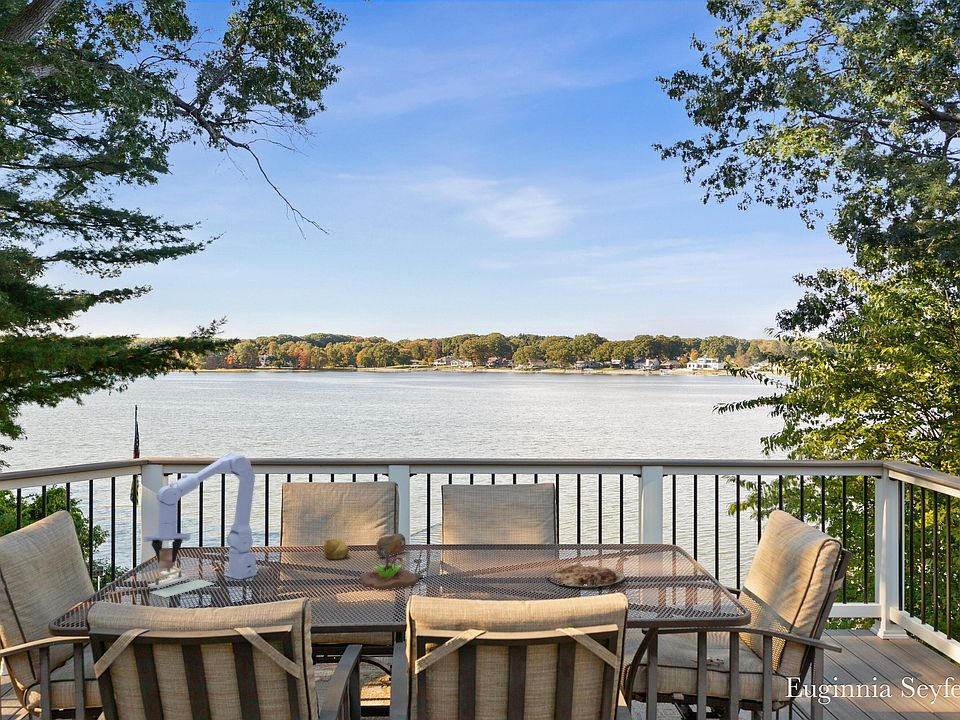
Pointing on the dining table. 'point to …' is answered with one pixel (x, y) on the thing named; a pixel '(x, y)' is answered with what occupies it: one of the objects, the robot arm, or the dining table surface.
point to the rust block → (166, 558)
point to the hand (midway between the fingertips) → (167, 561)
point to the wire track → (169, 578)
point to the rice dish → (587, 576)
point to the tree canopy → (391, 544)
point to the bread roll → (335, 549)
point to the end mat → (181, 588)
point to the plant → (388, 576)
